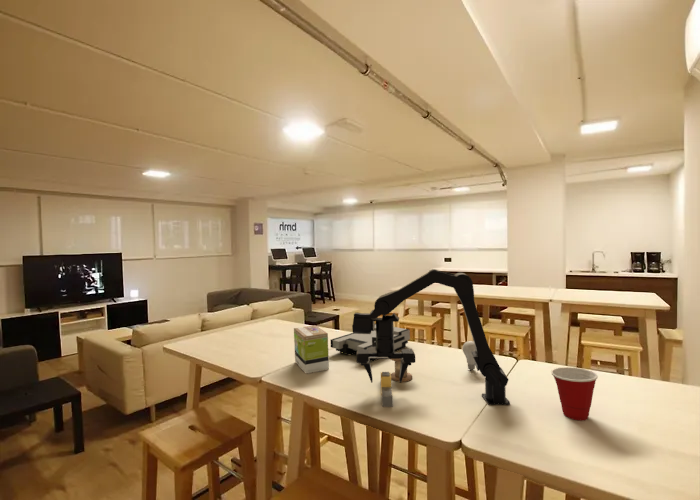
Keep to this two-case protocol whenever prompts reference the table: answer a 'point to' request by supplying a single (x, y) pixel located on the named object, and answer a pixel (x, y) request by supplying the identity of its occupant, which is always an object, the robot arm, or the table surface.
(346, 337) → the game console
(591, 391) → the plastic cup
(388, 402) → the grey square bar
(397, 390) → the table surface
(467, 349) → the lightbulb
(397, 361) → the bobbin
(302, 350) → the tea box
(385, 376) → the tab block
